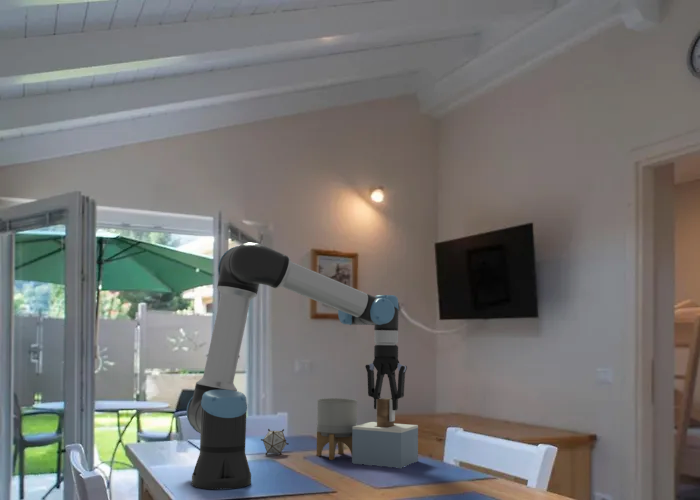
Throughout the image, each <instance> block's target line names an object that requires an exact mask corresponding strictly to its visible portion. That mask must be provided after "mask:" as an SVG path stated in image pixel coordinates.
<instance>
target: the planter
mask: <svg viewBox="0 0 700 500" xmlns="http://www.w3.org/2000/svg"><path fill="white" fill-rule="evenodd" d="M316 402H317V404H316V405H317V406H316V456H317V457H321V456H322V455H323V454H322V453H323V449H324V448H325V446H326V445H327V444H328V460H329V461H330V460H331V461H334V460H335V457H336V448H337V452H338V455H343V454H344V453H345V451H344V450H345V449H344V448H345V447H344V446H347V448H348V449H349V452H350V454H351V456H352V429H353V426H356V425H358V400H357V399H354V398H353V399H352V398H341V397H339V398H336V397H335V398H331V397H330V398H319V399H317V401H316Z"/></svg>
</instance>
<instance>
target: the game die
mask: <svg viewBox="0 0 700 500" xmlns="http://www.w3.org/2000/svg"><path fill="white" fill-rule="evenodd" d="M267 431H268V432H267V434H266V435H265V436H264V437H263V438H261V439H260V441H262V443H263V445H264V448H265V451H266V452H265V455H266V456H267V455H268V454H280V456H282V455H283V453H282V452H283V450H284V449H285V447H286V446H287V445H289V443H288V442H287V439H286V438H285V435H284V431H285V429H284V428H283V429H282V430H270V428H268V429H267Z"/></svg>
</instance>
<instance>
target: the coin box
mask: <svg viewBox="0 0 700 500" xmlns="http://www.w3.org/2000/svg"><path fill="white" fill-rule="evenodd" d="M418 461H419V425H418V424H405V423H395V422H394V426H392V427H388V428H384V427H377V421H370V422H369V421H368V422H365V423H361V424H357V425H356V426H353V429H352V455H351V464H352V463H353V464H355V465H362V464H364V465H365V466H372V465H377V466H376V467H382V466H388V467H387V468H392V467H397V468H396V469H403V468H405V467H404V466H406V467H407V465H408V466H410V465H412V464H411V463H413V464H414V462H415V463H418ZM409 464H410V465H409ZM402 467H403V468H402Z"/></svg>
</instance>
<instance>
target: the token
mask: <svg viewBox="0 0 700 500" xmlns="http://www.w3.org/2000/svg"><path fill="white" fill-rule="evenodd" d="M391 398H392V397H384V398H382V397H381V398H379V399H377V421H376V422H377V427H384V428H388V427H392V426H394V423H395V421H392V422H389V400H392V399H391Z"/></svg>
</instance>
